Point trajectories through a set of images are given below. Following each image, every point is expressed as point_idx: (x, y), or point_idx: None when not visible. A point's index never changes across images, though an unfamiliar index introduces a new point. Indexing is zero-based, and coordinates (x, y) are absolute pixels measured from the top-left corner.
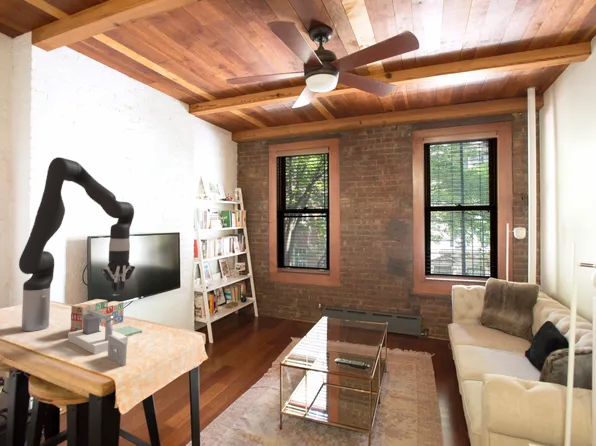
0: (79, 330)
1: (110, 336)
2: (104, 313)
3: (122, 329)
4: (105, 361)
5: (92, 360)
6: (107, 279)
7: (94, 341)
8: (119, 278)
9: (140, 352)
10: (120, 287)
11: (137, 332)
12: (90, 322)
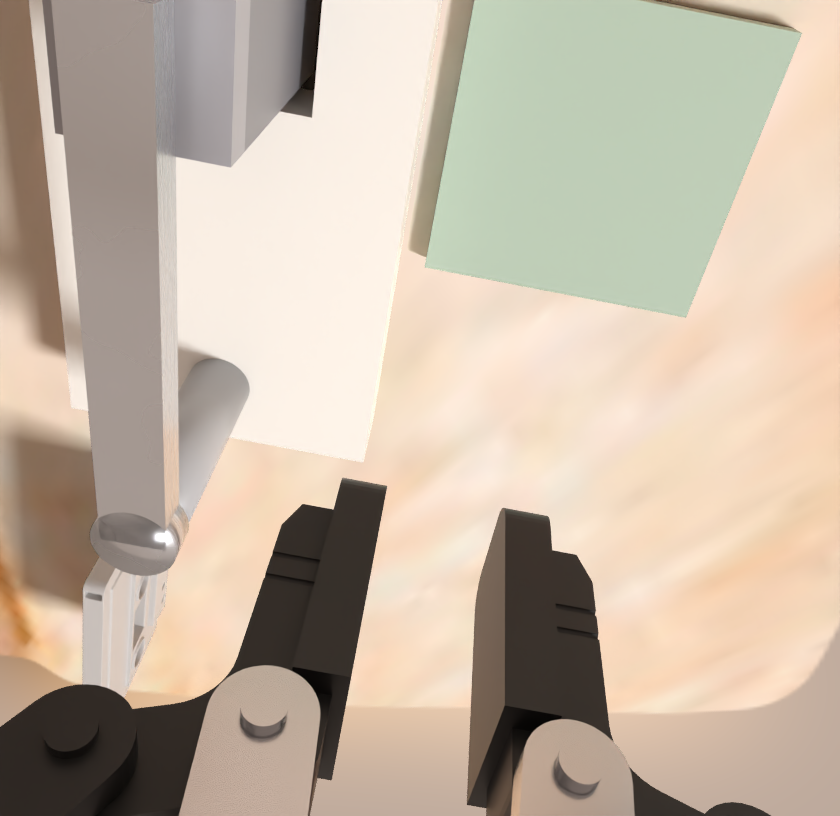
0: None
1: (84, 606)
2: (154, 411)
3: (626, 98)
4: None
5: (47, 439)
6: (19, 765)
7: None
8: (514, 805)
9: None
10: (483, 615)
11: (631, 301)
12: None
